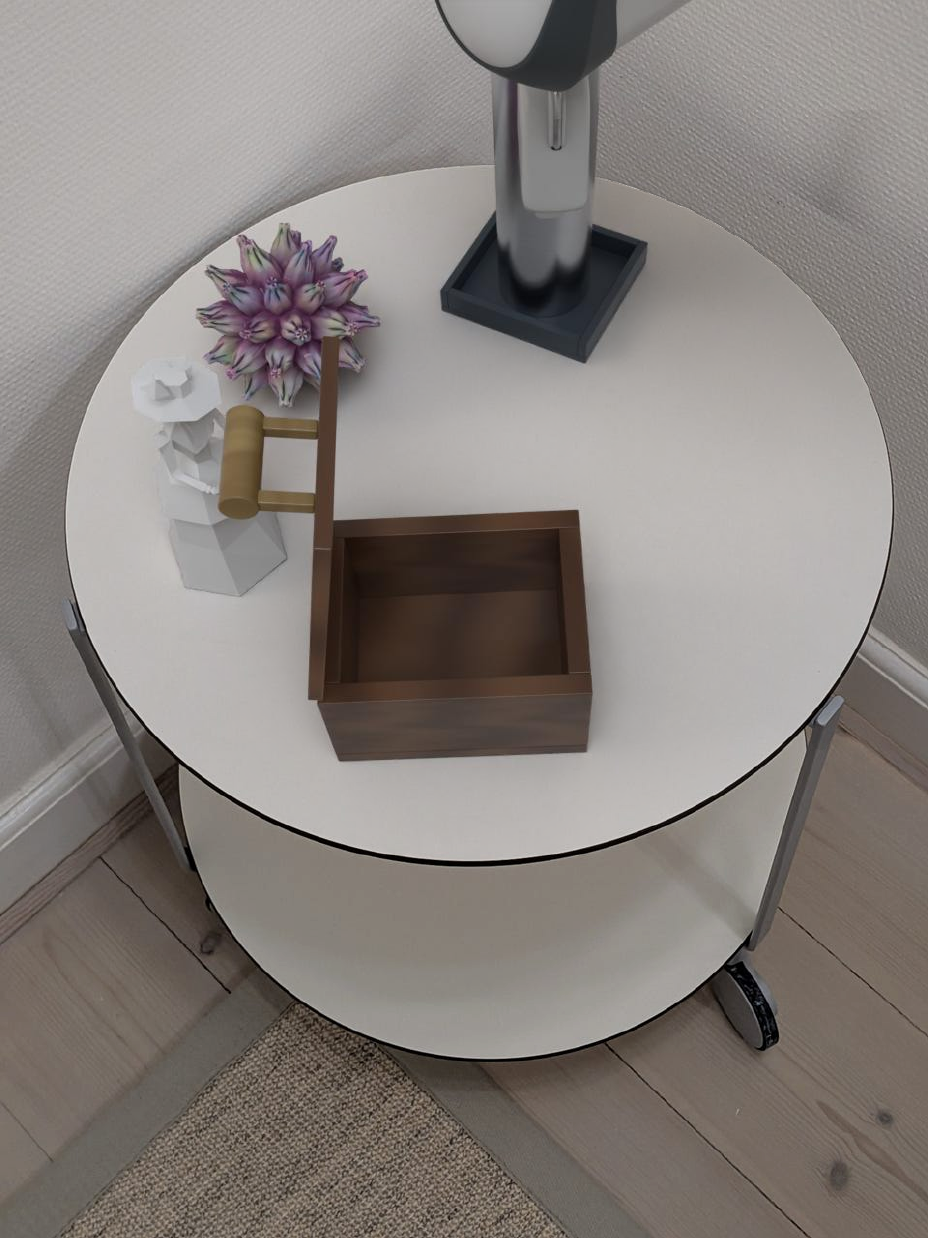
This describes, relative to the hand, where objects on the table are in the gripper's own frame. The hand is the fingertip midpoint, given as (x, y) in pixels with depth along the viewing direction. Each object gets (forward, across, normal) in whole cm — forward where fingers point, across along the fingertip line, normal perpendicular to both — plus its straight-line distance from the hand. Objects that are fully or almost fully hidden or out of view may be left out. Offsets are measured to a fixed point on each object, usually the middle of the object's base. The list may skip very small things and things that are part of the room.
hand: (545, 160), depth 78 cm
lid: (-5, -30, +12) cm, 33 cm away
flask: (+11, 0, 0) cm, 11 cm away
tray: (+11, 0, 0) cm, 11 cm away
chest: (+11, -30, +6) cm, 33 cm away
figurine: (+12, -20, +21) cm, 32 cm away
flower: (+12, -7, +17) cm, 22 cm away
